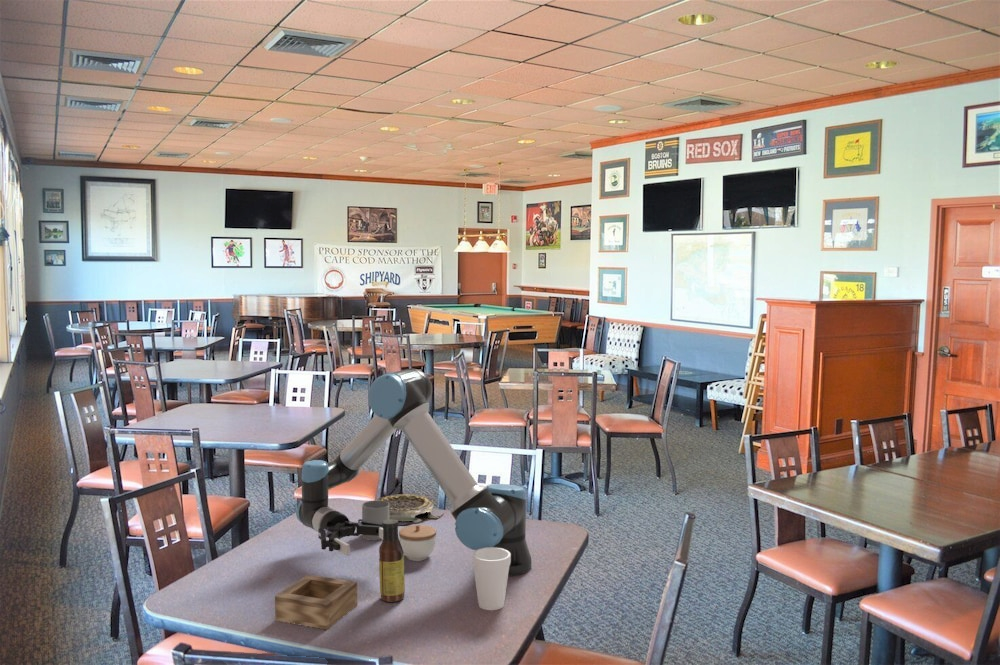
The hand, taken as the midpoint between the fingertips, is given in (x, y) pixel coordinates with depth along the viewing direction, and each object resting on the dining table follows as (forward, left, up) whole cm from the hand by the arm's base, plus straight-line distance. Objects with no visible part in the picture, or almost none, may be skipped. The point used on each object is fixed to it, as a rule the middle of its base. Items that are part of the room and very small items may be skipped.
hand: (371, 544), depth 204 cm
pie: (+20, -59, -12) cm, 64 cm away
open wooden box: (+4, +19, -11) cm, 22 cm away
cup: (+18, -35, -11) cm, 41 cm away
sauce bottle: (-9, +5, -11) cm, 15 cm away
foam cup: (-33, 0, -11) cm, 35 cm away
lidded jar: (-2, -23, -11) cm, 26 cm away
